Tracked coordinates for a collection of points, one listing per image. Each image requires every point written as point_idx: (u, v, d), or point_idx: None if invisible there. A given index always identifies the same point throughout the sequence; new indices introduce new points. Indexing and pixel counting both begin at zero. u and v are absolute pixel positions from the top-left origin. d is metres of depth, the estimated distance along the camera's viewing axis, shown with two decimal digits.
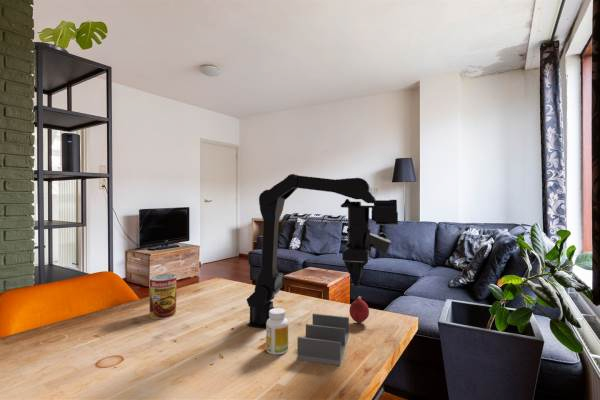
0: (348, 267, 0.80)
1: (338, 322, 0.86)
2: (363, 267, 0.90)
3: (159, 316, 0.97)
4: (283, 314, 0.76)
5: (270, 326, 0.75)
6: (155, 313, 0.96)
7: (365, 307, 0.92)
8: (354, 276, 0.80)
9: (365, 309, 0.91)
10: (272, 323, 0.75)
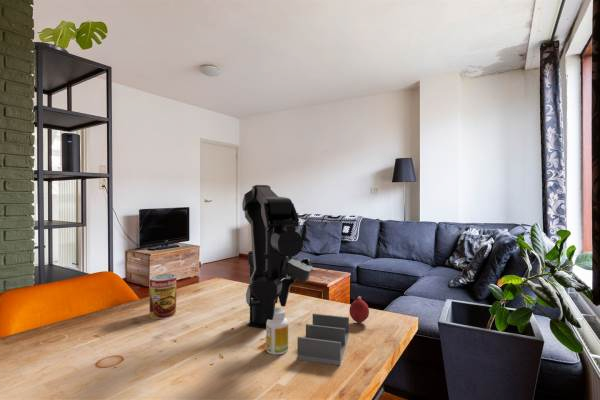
0: (260, 299, 0.72)
1: (338, 322, 0.86)
2: (287, 295, 0.82)
3: (159, 316, 0.97)
4: (283, 314, 0.76)
5: (270, 326, 0.75)
6: (155, 313, 0.96)
7: (365, 307, 0.92)
8: (267, 309, 0.72)
9: (365, 309, 0.91)
10: (272, 323, 0.75)
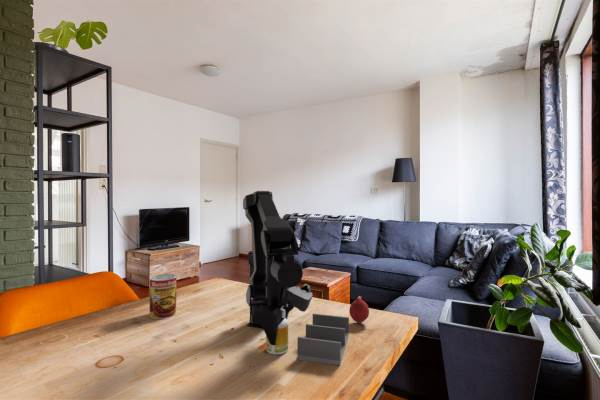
0: (263, 325, 0.73)
1: (338, 322, 0.86)
2: None
3: (159, 316, 0.97)
4: (283, 314, 0.76)
5: None
6: (155, 313, 0.96)
7: (365, 307, 0.92)
8: (269, 335, 0.74)
9: (365, 309, 0.91)
10: None
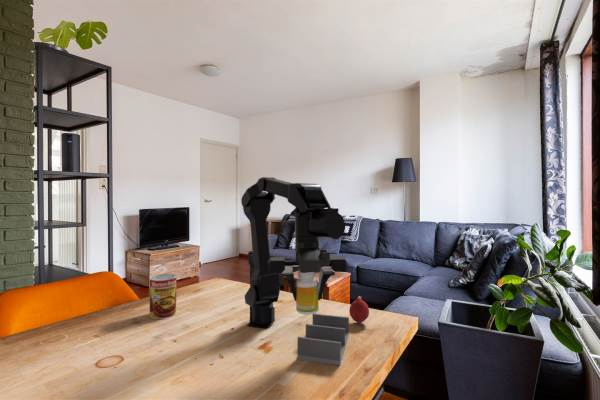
0: None
1: (338, 322, 0.86)
2: (321, 289, 0.75)
3: (159, 316, 0.97)
4: (304, 274, 0.74)
5: None
6: (155, 313, 0.96)
7: (365, 307, 0.92)
8: None
9: (365, 309, 0.91)
10: (297, 280, 0.76)
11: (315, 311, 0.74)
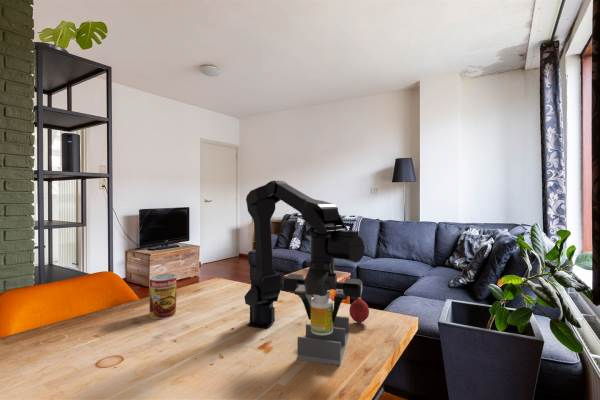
0: None
1: (338, 322, 0.86)
2: (335, 311, 0.74)
3: (159, 316, 0.97)
4: (317, 295, 0.74)
5: None
6: (155, 313, 0.96)
7: (365, 307, 0.92)
8: None
9: (365, 309, 0.91)
10: (312, 299, 0.76)
11: (327, 333, 0.73)
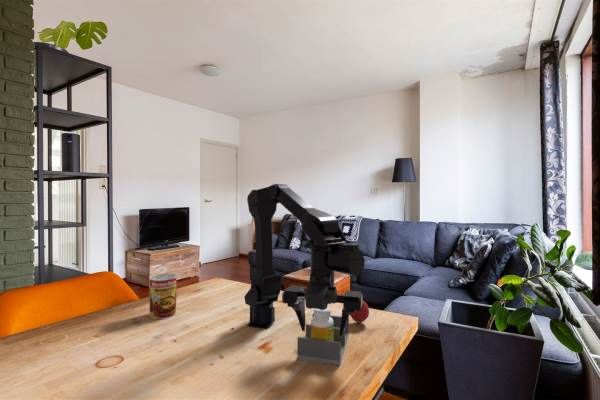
0: None
1: (338, 322, 0.86)
2: (342, 325, 0.73)
3: (159, 316, 0.97)
4: (317, 313, 0.74)
5: None
6: (155, 313, 0.96)
7: (365, 307, 0.92)
8: None
9: (365, 309, 0.91)
10: (313, 317, 0.76)
11: None
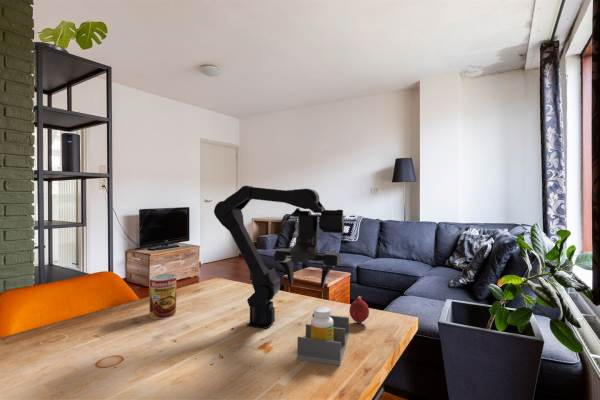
0: None
1: (338, 322, 0.86)
2: (322, 279, 0.88)
3: (159, 316, 0.97)
4: (317, 313, 0.74)
5: None
6: (155, 313, 0.96)
7: (365, 307, 0.92)
8: None
9: (365, 309, 0.91)
10: (313, 317, 0.76)
11: None
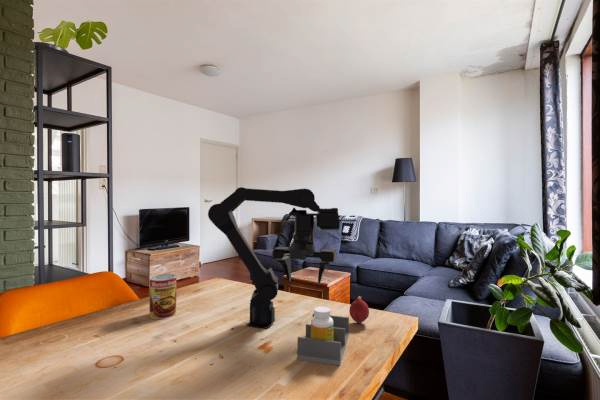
0: None
1: (338, 322, 0.86)
2: (320, 275, 0.92)
3: (159, 316, 0.97)
4: (317, 313, 0.74)
5: None
6: (155, 313, 0.96)
7: (365, 307, 0.92)
8: None
9: (365, 309, 0.91)
10: (313, 317, 0.76)
11: None
